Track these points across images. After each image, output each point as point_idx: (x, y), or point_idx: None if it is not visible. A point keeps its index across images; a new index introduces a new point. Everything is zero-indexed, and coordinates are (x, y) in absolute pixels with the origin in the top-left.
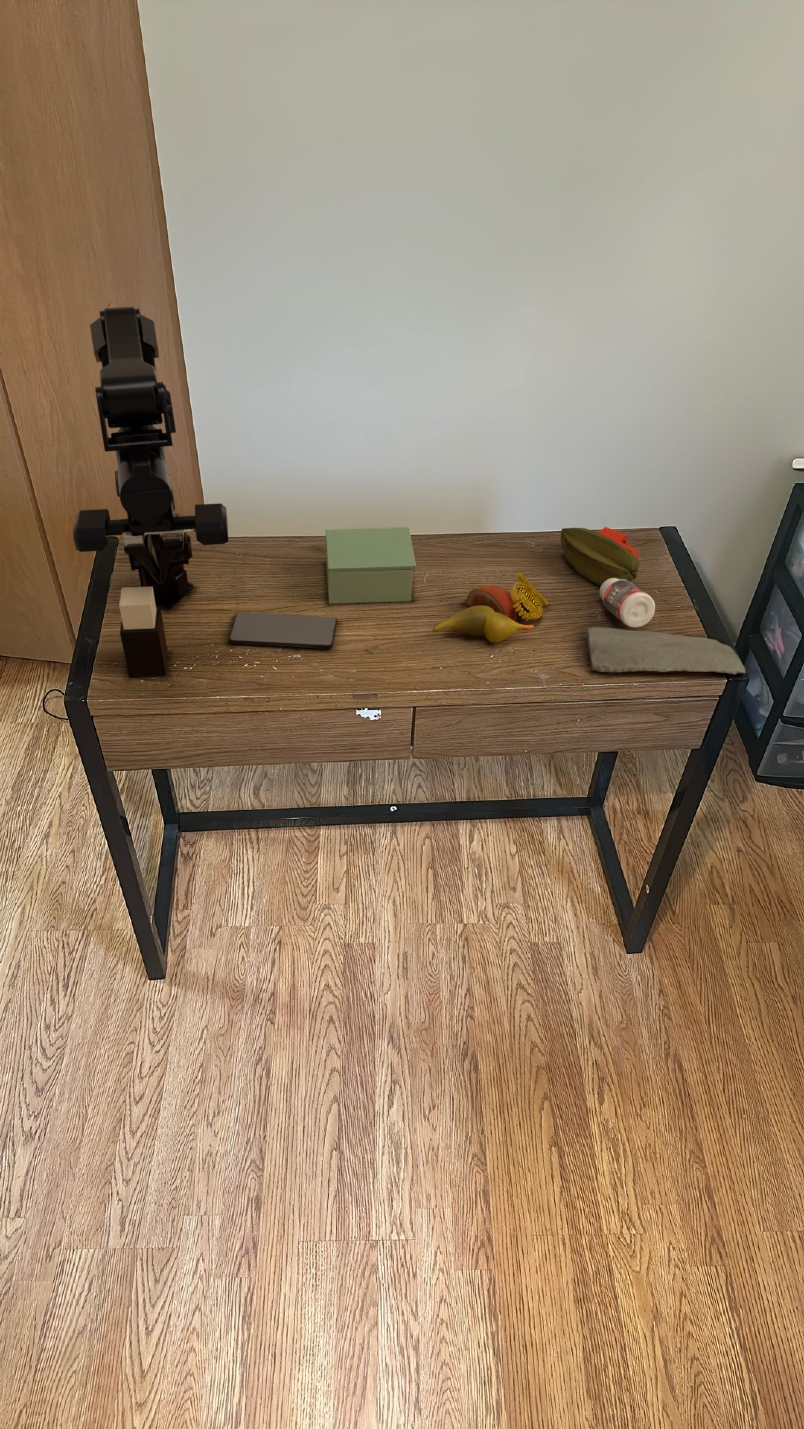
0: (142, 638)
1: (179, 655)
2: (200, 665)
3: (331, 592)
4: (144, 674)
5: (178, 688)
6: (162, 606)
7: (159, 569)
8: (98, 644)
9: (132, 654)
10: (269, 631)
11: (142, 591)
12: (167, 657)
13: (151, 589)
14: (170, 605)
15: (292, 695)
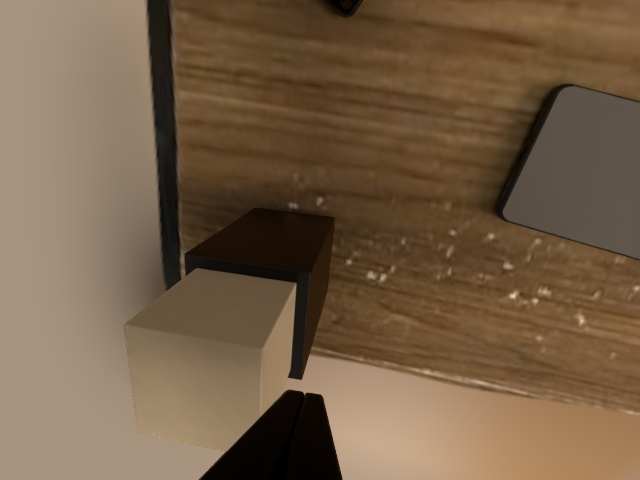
0: None
1: (360, 229)
2: (405, 273)
3: None
4: None
5: (350, 331)
6: (327, 3)
7: (283, 465)
8: (176, 153)
9: None
10: (630, 205)
11: (218, 376)
12: (332, 237)
13: (259, 372)
14: (351, 7)
15: (586, 404)
